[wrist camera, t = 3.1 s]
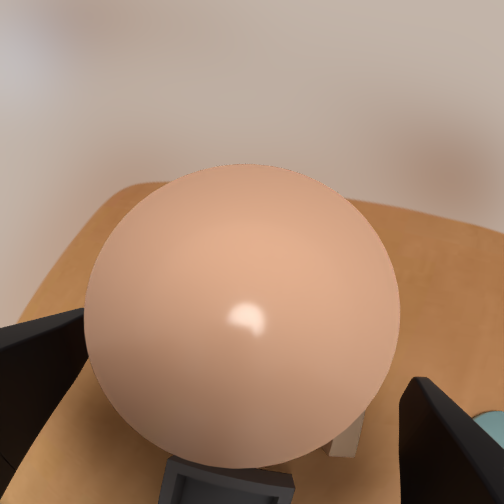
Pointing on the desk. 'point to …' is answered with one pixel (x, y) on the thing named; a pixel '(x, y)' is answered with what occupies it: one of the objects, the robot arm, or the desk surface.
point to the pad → (492, 425)
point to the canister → (242, 316)
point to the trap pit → (222, 485)
